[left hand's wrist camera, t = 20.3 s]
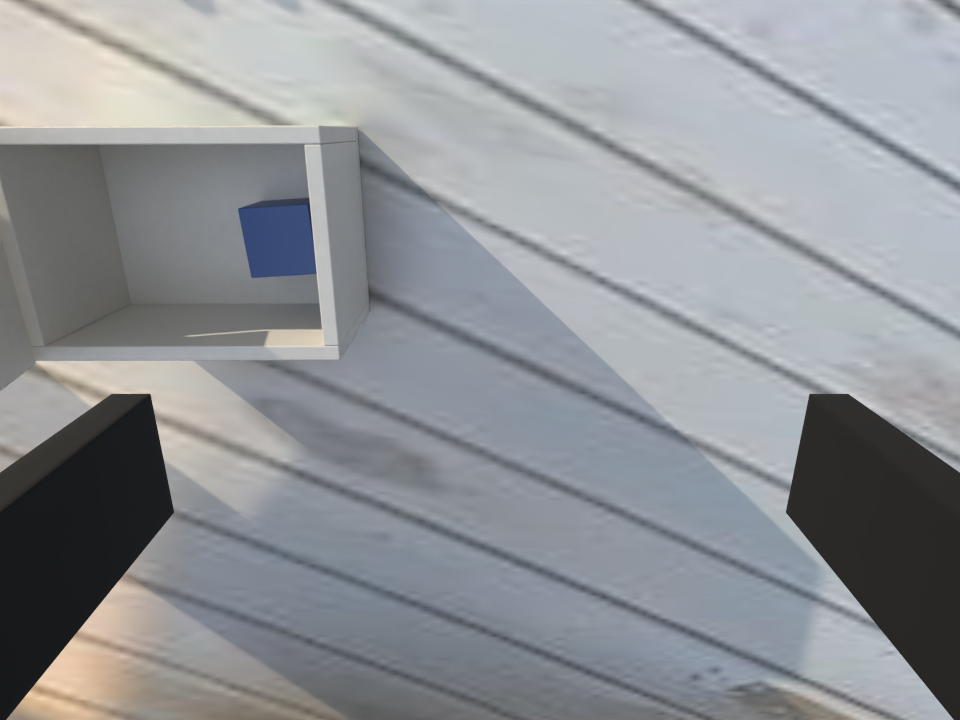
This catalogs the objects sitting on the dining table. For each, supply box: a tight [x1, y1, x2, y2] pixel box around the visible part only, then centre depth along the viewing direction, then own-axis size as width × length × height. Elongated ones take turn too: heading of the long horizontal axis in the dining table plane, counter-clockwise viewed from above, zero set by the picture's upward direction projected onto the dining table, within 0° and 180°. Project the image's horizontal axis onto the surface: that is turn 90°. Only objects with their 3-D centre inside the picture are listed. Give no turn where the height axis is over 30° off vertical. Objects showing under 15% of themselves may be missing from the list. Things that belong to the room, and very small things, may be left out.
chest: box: [0, 126, 370, 361], centre depth 37 cm, size 17×12×10 cm
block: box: [238, 198, 317, 278], centre depth 39 cm, size 4×4×4 cm
